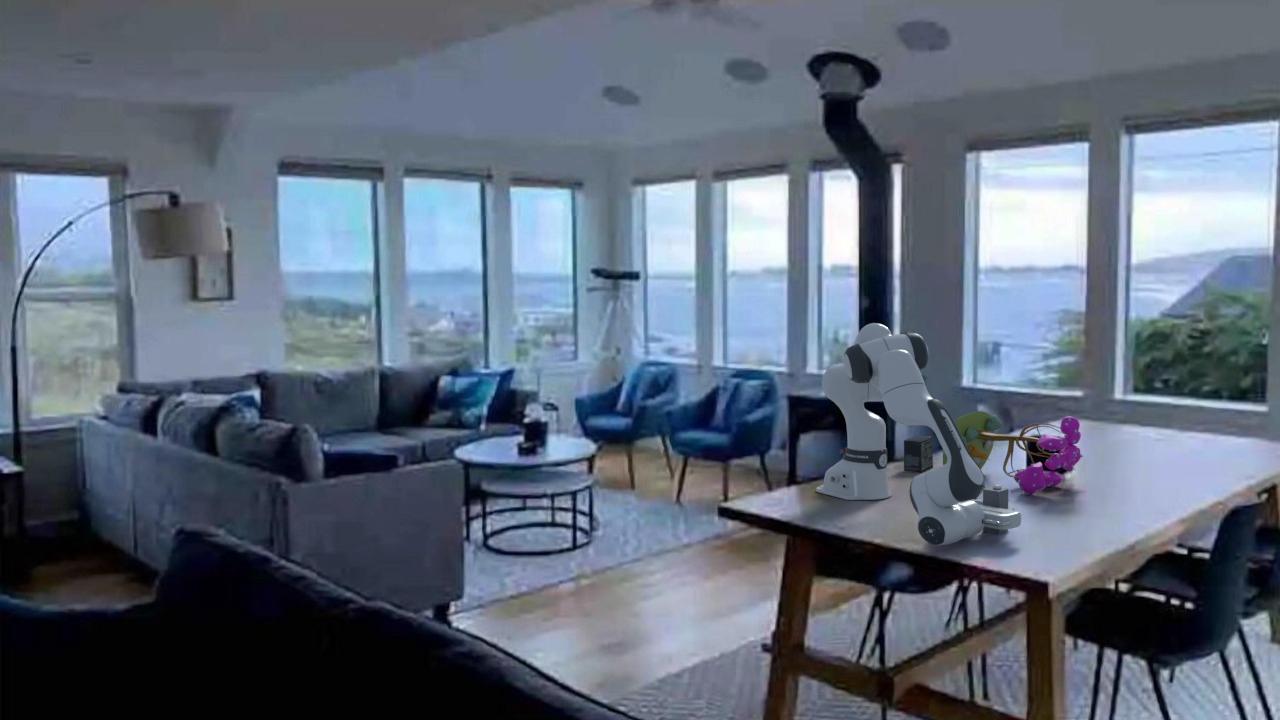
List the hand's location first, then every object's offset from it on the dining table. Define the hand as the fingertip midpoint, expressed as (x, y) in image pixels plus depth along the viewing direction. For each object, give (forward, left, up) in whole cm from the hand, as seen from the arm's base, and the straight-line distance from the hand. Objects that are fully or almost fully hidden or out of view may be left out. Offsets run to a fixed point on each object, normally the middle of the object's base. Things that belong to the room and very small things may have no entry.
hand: (994, 508), depth 272 cm
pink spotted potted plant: (-22, +53, -6) cm, 58 cm away
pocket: (-14, +12, -6) cm, 19 cm away
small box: (-58, +55, -6) cm, 80 cm away
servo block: (0, 0, -6) cm, 6 cm away
